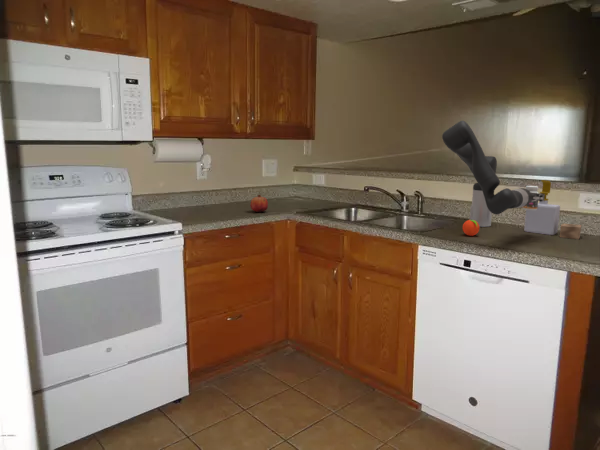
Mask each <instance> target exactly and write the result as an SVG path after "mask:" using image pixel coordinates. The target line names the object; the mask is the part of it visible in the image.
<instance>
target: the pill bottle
mask: <svg viewBox="0 0 600 450" xmlns="http://www.w3.org/2000/svg"><path fill="white" fill-rule="evenodd" d="M525 189H527V190H529V191H530V192H532V193H537V194H538V193H539V191H538V190H539V186H536V185H526V186H525ZM538 203H539V201H538V200H536V201H531V202H530V203H529V204H528V205H527V206H524V207H521V208H522V210H525V211H526V210H537V207H538Z"/></svg>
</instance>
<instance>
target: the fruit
mask: <svg viewBox="0 0 600 450" xmlns="http://www.w3.org/2000/svg"><path fill="white" fill-rule="evenodd" d="M268 208H269V201H268V200H267V198H266V197H264V196H262V195H261V194H257V196H255V197H253V198H252V199H251V201H250V209H251V210H252V211H253V212H257V213H263V212H266V211H267V210H268Z"/></svg>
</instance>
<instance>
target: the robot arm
mask: <svg viewBox="0 0 600 450" xmlns="http://www.w3.org/2000/svg"><path fill="white" fill-rule="evenodd" d="M441 136H442V137H441V138H442V140H443V141H442V142H443V144H444V145H445V146H446V147H447V148H448V149H449V151H451V152H453V153H454V154H456V155H457V156H458V158H460V160H462V162H463V163H465V164H466V166H468V168H469V170H470V171H471V173H472V175H473V178H474V179H475V181H476V182H475V183H473V185H472V198H471V205H470V206H469V207H470V210H469V220H471V219H472V220H475V221H476V222H477V223H478V224H479V227H480V228H481V227H483V228H484V227H487V228H488V227H491V226H492V215H500V214H501V213H504V211H507V210H508V209H510V210H511V209H518V208H522V207H524V206H527V205H528V204H529V203H530V202H531V201H536V200H538V202H539V201H540V202H541V201H544V198H545V194H542V193H540V192H538V194H537V193H532V192H530V191H529V190H527V189H526V187H520V188H514V189H510V188H509V187H508V188H503V189H501V190H500V191H498V192H497V193H495V190H496V189H497V188H498V187H499V185H500V184H501V181H500V179H499V177H498V175H497V165H498V163H497V158H496V157H495V156H492V155H491V156H490V155H489V156H487V155H485V153H484V150H483V148H482V147H481V144H480V142H479V140H478V138H477V137H476V135H475V133H474V131H473V130H472V128H471V127H470V125H469V124H468V123H467V122H466V121H465V120H460V121H458V122H456V123H455V124H454V125H453V126H450V127H449V128H448V129H446V130H445V131H444V132H443V133H442V135H441Z"/></svg>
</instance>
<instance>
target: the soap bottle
mask: <svg viewBox="0 0 600 450" xmlns="http://www.w3.org/2000/svg"><path fill="white" fill-rule="evenodd" d="M540 182H541V183H542V187H541V188H542V189H541V191H540V192H539V193H542V194H545V198H544V201H541V202H540V201H538V207H537V210H525V219H524V232H527V233H533V234H540V235H541V234H542V235H548V236H554V235H556V234H558V231H559V220H560V213H561V205H560V204H552V203H549V198H547V196H549V194H550V193H551V187H552V183H551V181H550V180H546V179H545V180H541V181H540Z"/></svg>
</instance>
